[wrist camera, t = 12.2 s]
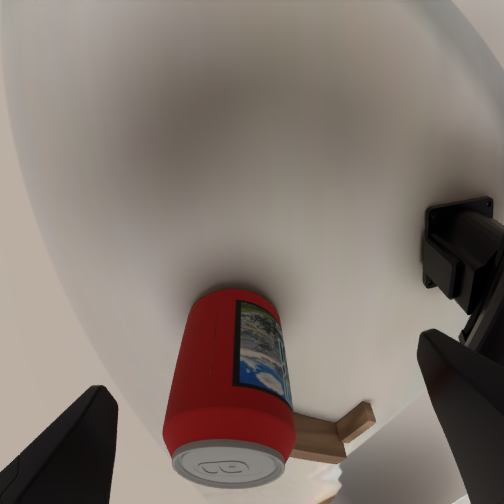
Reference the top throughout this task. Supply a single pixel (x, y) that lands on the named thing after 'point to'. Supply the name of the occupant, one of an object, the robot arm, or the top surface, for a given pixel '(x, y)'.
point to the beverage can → (231, 394)
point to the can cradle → (330, 435)
